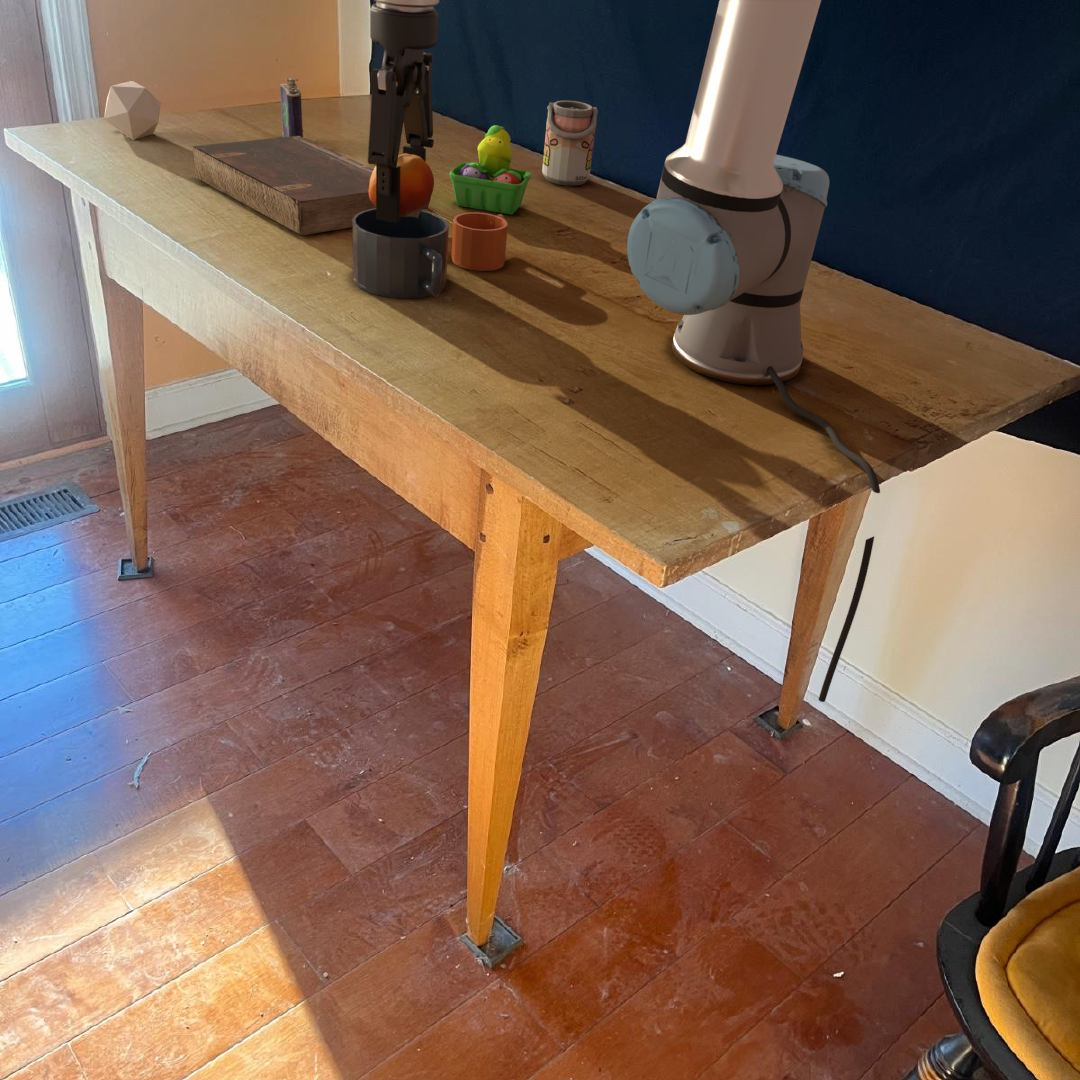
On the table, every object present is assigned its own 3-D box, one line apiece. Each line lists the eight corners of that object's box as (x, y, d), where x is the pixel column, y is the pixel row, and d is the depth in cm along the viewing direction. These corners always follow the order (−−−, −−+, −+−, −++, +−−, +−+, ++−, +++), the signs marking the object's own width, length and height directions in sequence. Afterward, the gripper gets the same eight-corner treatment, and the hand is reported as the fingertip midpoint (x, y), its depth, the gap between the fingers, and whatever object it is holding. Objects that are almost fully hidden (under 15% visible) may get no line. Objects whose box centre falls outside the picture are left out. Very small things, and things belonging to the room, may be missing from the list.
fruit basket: (446, 206, 158) (449, 130, 152) (463, 191, 165) (466, 117, 159) (517, 219, 157) (524, 142, 150) (531, 203, 164) (538, 129, 157)
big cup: (336, 270, 133) (335, 212, 129) (417, 258, 139) (418, 203, 135) (394, 315, 123) (395, 254, 119) (478, 300, 129) (482, 241, 125)
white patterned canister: (590, 191, 172) (599, 115, 165) (540, 185, 172) (547, 110, 165) (589, 175, 180) (597, 102, 173) (541, 170, 179) (548, 97, 172)
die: (172, 144, 173) (171, 86, 174) (131, 124, 165) (130, 63, 166) (135, 154, 177) (133, 97, 177) (92, 135, 169) (91, 75, 169)
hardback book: (410, 217, 153) (411, 183, 150) (301, 238, 141) (300, 201, 138) (301, 164, 169) (300, 133, 166) (196, 179, 157) (192, 146, 155)
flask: (280, 137, 181) (278, 71, 175) (297, 137, 182) (295, 72, 176) (289, 152, 174) (287, 84, 168) (307, 152, 175) (305, 85, 169)
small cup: (489, 275, 137) (492, 234, 133) (442, 262, 139) (443, 222, 136) (522, 253, 144) (525, 214, 141) (476, 242, 147) (479, 203, 143)
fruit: (437, 217, 122) (406, 152, 119) (382, 241, 125) (350, 179, 122) (455, 198, 129) (426, 136, 126) (403, 222, 132) (372, 162, 129)
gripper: (405, -10, 123) (402, 183, 136) (334, 12, 106) (338, 229, 119) (465, -1, 122) (456, 192, 135) (402, 22, 105) (399, 241, 118)
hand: (400, 210), depth 127 cm, fingers closed on fruit, 8 cm apart
